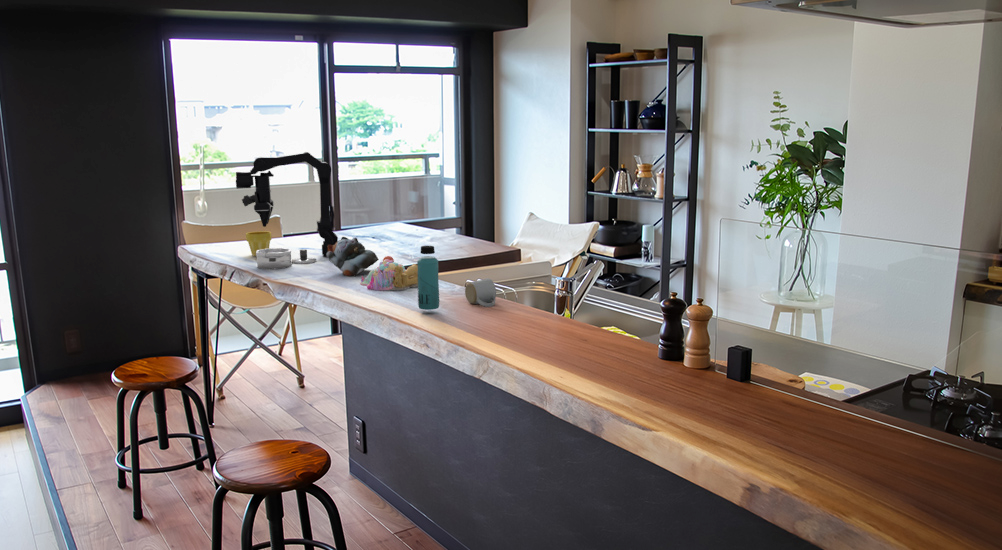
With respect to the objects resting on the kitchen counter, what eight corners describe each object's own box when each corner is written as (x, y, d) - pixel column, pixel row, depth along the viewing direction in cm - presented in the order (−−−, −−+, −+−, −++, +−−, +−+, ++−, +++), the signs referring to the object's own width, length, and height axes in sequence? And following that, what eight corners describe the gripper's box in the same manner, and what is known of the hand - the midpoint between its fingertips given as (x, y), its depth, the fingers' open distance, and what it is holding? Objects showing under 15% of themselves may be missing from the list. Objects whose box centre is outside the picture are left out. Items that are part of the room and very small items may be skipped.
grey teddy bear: (351, 278, 272) (330, 240, 271) (335, 287, 282) (315, 250, 281) (385, 259, 283) (365, 223, 281) (369, 268, 293) (349, 233, 292)
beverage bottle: (440, 309, 225) (439, 244, 221) (439, 314, 219) (438, 247, 215) (418, 309, 225) (417, 244, 221) (416, 315, 219) (415, 247, 215)
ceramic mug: (463, 302, 235) (463, 279, 234) (484, 299, 239) (484, 276, 238) (480, 309, 227) (480, 285, 225) (502, 305, 231) (502, 282, 229)
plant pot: (246, 254, 325) (244, 231, 323) (270, 252, 329) (269, 230, 327) (248, 257, 316) (247, 234, 314) (274, 256, 320) (272, 233, 318)
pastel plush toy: (441, 282, 266) (441, 257, 265) (400, 295, 246) (399, 267, 245) (386, 275, 279) (385, 251, 277) (343, 287, 259) (342, 260, 257)
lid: (316, 260, 312) (315, 247, 311) (315, 264, 303) (315, 251, 302) (292, 260, 310) (291, 248, 309) (291, 265, 301) (290, 252, 300)
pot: (292, 261, 307) (291, 246, 305) (290, 269, 289) (289, 253, 288) (259, 262, 304) (258, 247, 303) (255, 271, 286) (254, 255, 285)
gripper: (245, 186, 316) (247, 223, 319) (239, 190, 298) (242, 229, 301) (272, 185, 318) (275, 222, 321) (268, 189, 300) (271, 227, 303)
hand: (265, 225), depth 311 cm, fingers open, 9 cm apart
